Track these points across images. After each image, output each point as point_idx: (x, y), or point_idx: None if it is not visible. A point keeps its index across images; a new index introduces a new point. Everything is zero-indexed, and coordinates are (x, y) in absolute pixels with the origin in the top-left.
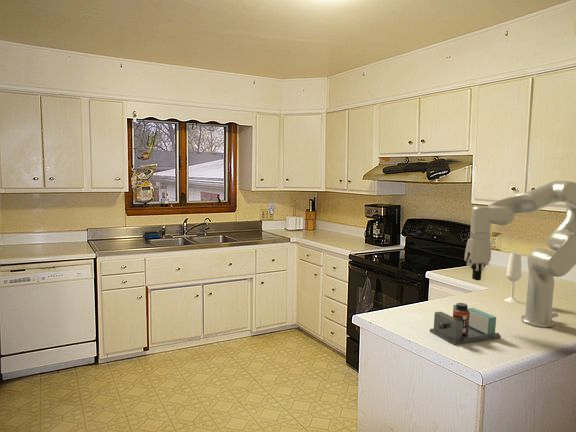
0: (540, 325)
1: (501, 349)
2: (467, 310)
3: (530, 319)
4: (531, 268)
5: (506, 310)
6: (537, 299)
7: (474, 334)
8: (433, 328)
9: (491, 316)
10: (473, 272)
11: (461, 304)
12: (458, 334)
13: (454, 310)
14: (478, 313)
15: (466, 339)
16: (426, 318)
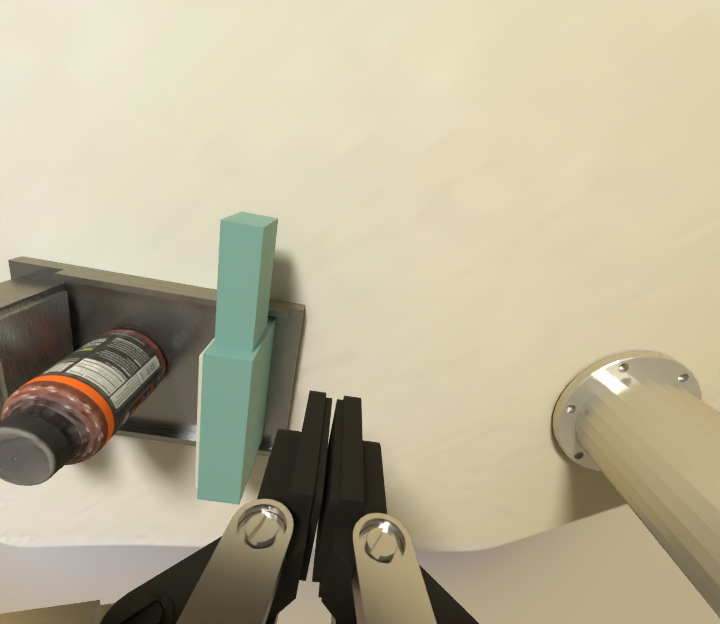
0: (563, 450)
1: (196, 492)
2: (67, 461)
3: (582, 419)
4: None
5: (716, 234)
6: (659, 532)
7: (182, 399)
8: (32, 264)
9: (222, 490)
10: (262, 492)
11: (6, 462)
12: None
13: (2, 411)
14: (201, 432)
15: None
16: (137, 83)
